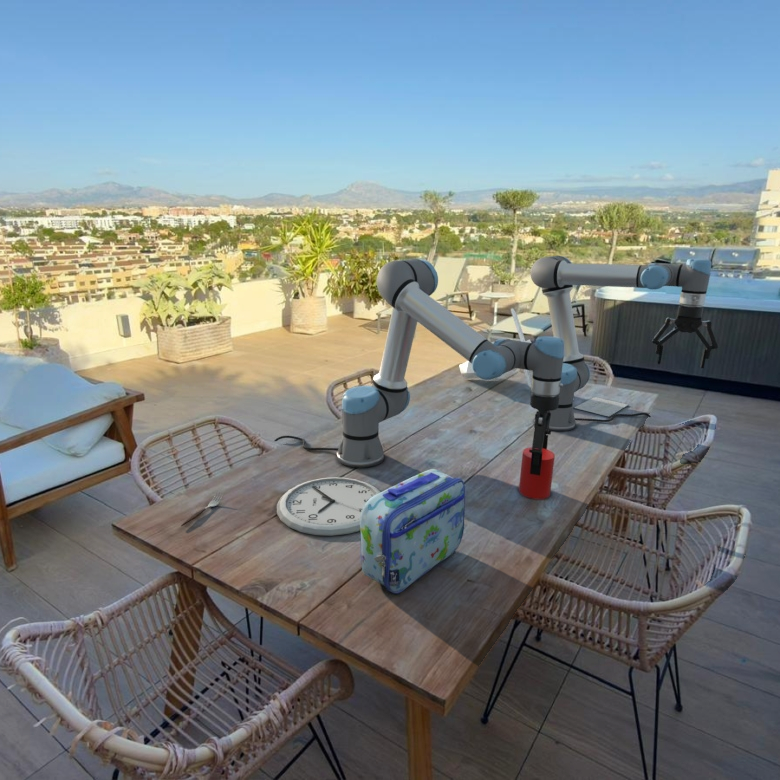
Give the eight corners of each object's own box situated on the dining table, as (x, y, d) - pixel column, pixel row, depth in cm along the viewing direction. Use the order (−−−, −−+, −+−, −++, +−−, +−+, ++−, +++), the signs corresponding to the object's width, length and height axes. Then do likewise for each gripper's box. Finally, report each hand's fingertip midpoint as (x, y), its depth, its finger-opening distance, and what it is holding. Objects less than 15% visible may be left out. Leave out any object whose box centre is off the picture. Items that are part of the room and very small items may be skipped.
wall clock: (392, 527, 129) (268, 531, 127) (391, 533, 130) (269, 537, 127) (383, 473, 158) (282, 475, 155) (383, 478, 158) (282, 480, 156)
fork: (176, 526, 131) (176, 519, 130) (217, 497, 145) (217, 491, 145) (185, 528, 130) (184, 521, 130) (225, 499, 145) (224, 492, 144)
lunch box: (388, 606, 105) (390, 514, 99) (353, 580, 112) (353, 493, 106) (468, 553, 123) (474, 472, 116) (433, 534, 130) (437, 457, 124)
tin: (513, 492, 152) (517, 454, 148) (526, 481, 158) (530, 444, 154) (542, 502, 146) (547, 462, 143) (554, 490, 153) (559, 452, 149)
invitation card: (608, 416, 214) (573, 407, 224) (608, 416, 214) (573, 408, 224) (628, 404, 229) (594, 396, 238) (628, 405, 229) (594, 397, 238)
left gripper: (554, 408, 131) (546, 485, 137) (563, 383, 153) (556, 450, 159) (524, 405, 134) (517, 480, 140) (537, 380, 156) (531, 446, 162)
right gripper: (651, 304, 180) (641, 363, 187) (735, 309, 171) (722, 371, 178) (650, 301, 187) (640, 359, 193) (731, 306, 178) (718, 366, 184)
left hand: (538, 464), depth 149 cm, fingers open, 13 cm apart
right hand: (679, 365), depth 185 cm, fingers open, 13 cm apart
